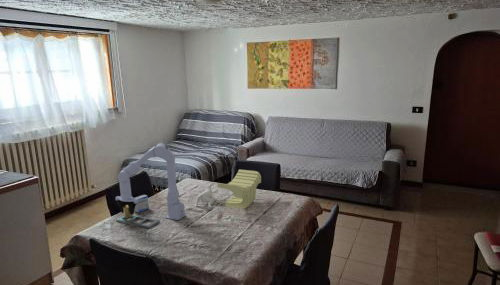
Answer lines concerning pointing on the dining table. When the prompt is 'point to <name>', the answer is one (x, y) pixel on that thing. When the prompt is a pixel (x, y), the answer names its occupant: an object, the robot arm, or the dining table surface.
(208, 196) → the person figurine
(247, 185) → the slatted curved stool
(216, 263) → the dining table surface
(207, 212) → the dining table surface
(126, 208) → the mustard tan rectangular block
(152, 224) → the grey grid frame
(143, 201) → the medicine box
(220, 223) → the dining table surface
